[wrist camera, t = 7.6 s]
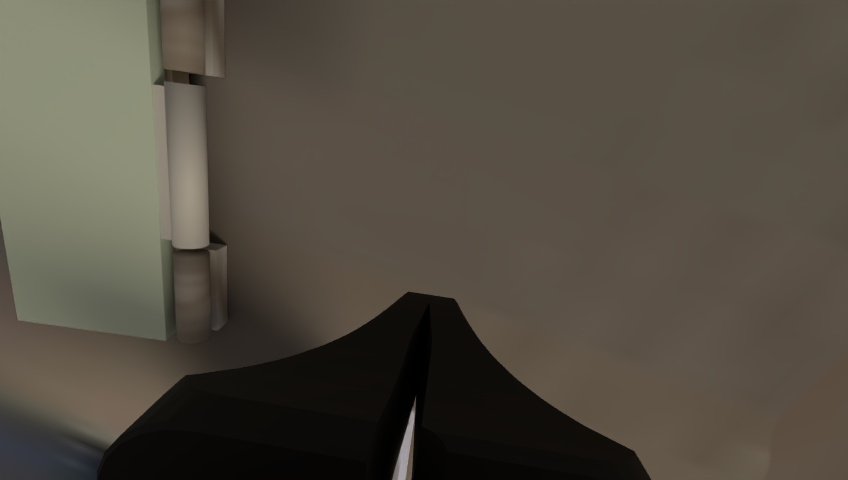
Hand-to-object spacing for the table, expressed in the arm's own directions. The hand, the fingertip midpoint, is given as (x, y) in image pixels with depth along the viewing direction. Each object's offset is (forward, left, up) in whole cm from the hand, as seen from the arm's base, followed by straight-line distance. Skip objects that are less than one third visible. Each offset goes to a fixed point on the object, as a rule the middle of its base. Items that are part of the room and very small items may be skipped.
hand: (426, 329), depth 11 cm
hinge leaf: (+2, +16, -9) cm, 19 cm away
